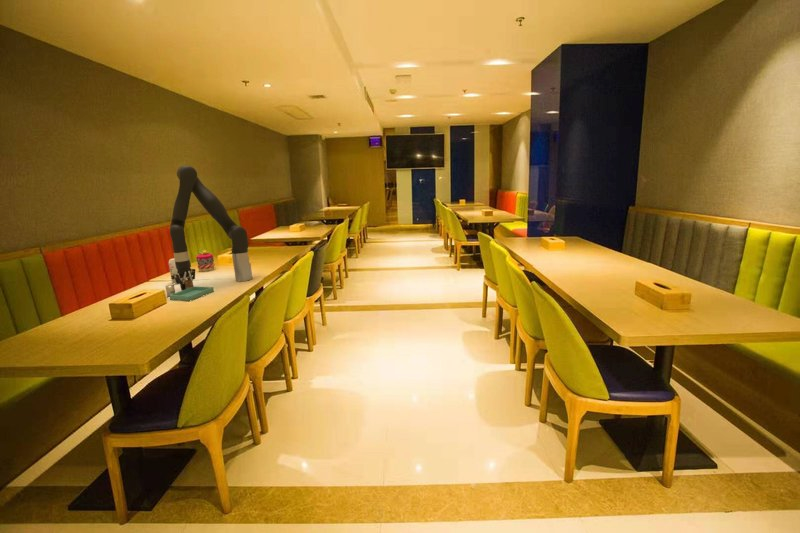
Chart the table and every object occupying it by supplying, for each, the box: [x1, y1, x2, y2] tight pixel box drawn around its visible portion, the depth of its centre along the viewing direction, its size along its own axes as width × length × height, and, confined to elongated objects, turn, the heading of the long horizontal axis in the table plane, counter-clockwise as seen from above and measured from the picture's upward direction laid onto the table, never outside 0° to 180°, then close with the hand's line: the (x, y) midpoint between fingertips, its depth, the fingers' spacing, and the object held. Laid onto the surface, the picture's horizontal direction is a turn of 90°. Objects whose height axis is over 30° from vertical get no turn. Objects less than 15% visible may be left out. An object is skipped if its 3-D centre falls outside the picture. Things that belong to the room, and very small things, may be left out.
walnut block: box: [180, 280, 194, 291], centre depth 231 cm, size 4×4×5 cm
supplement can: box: [168, 257, 187, 285], centre depth 249 cm, size 8×8×15 cm
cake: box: [195, 248, 215, 273], centre depth 279 cm, size 10×11×15 cm
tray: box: [169, 285, 215, 302], centre depth 221 cm, size 17×13×3 cm
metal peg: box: [165, 284, 176, 298], centre depth 221 cm, size 4×4×6 cm
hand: (187, 288), depth 232 cm, fingers closed on walnut block, 4 cm apart
